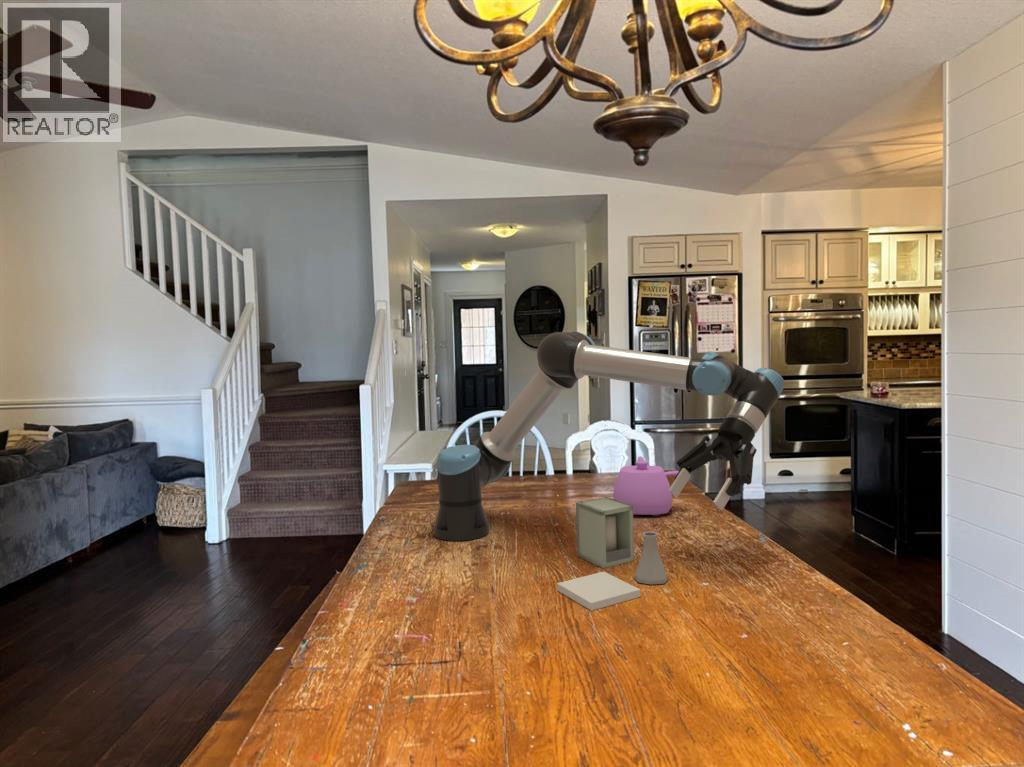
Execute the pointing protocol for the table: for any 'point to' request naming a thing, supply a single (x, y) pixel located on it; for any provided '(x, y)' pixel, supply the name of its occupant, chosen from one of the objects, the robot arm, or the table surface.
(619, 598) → the plate
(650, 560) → the flask
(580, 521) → the dispenser box
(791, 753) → the table surface
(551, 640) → the table surface
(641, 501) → the teapot
